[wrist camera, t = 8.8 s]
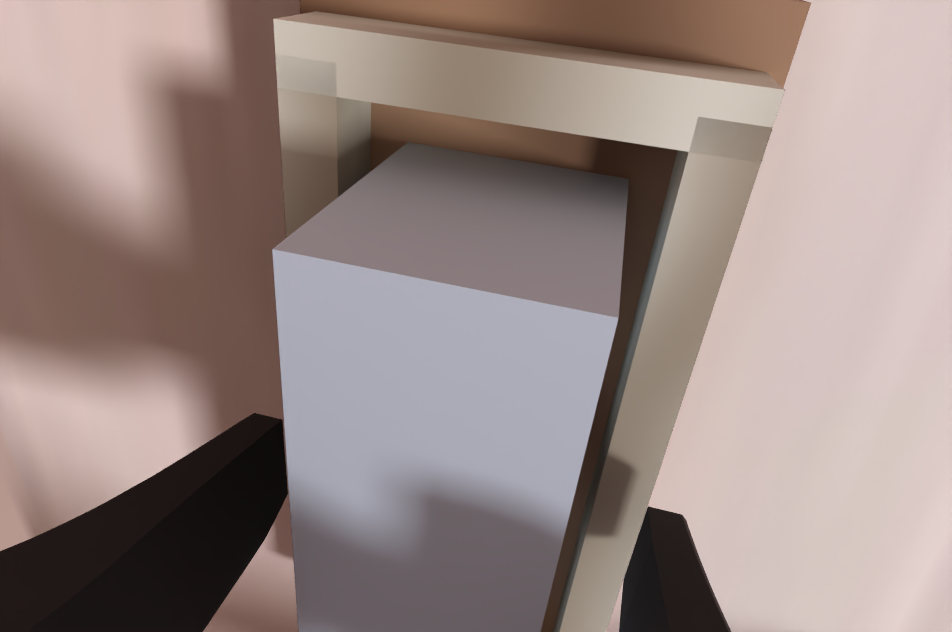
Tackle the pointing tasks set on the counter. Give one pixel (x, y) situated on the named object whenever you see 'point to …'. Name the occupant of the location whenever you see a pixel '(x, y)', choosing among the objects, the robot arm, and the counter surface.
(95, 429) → the counter surface
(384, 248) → the grey box
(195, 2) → the counter surface
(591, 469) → the framed wooden panel
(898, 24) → the counter surface
